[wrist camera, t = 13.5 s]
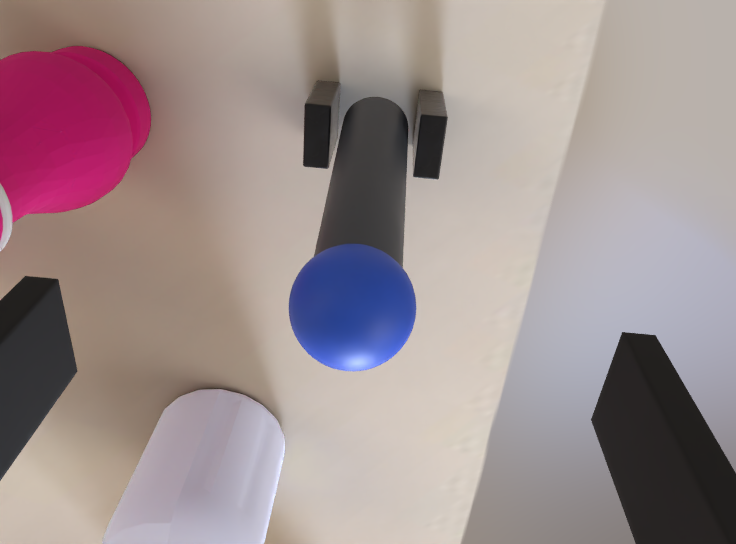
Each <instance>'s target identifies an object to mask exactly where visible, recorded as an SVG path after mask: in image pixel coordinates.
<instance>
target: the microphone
mask: <svg viewBox="0 0 736 544" xmlns="http://www.w3.org/2000/svg"><path fill="white" fill-rule="evenodd" d="M407 148H408V121H407V118H406V115H405V114H404V112H403V111H402V109H401V108H400V107H399V106H398V105H397V104H395V103H394V102H392V101H390V100H388V99H385V98H381V97H369V98H365V99H362V100H360V101H358V102H356V103H355V104H353V105H352V106H351V107H350V108H349V110H348V111H347V113H346V115H345V117H344V121H343V125H342V130H341V134H340V139H339V144H338V148H337V153H336V158H335V162H334V167H333V171H332V176H331V181H330V185H329V190H328V194H327V199H326V204H325V208H324V213H323V217H322V222H321V227H320V231H319V236H318V241H317V245H316V250H315V254H314V257H313V258H312V259H311V260H310V261H309V262H308V263H307V264H305V266H304V267H303V268H302V270H301V271H300V272H299V274H298V276H297V277H296V279H295V281H294V284H293V286H292V289H291V293H290V299H289V316H290V322H291V326H292V329H293V331H294V334H295V336H296V338H297V340H298V341H299V343H300V344H301V346H302V347H303V348H304V349H305V350H306V351H307V353H308V354H310V355H311V356H312V357H313V358H314V359H316V360H317V361H319V362H320V363H322V364H324V365H326V366H328V367H331V368H334V369H338V370H344V371H361V370H367V369H371V368H374V367H376V366H379V365H381V364H382V363H384V362H386V361H388V360H389V359H390V358H392V357H393V356H394V355H395V354H396V353H397V352H398V351H399V350H400V349H401V348H402V347H403V345H404V344H405V342H406V341H407V339H408V337H409V335H410V333H411V331H412V328H413V325H414V321H415V315H416V299H415V293H414V290H413V286H412V284H411V281H410V279H409V277H408V275H407V274H406V272H405V271H404V269H403V245H404V221H405V197H406V172H407Z"/></svg>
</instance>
